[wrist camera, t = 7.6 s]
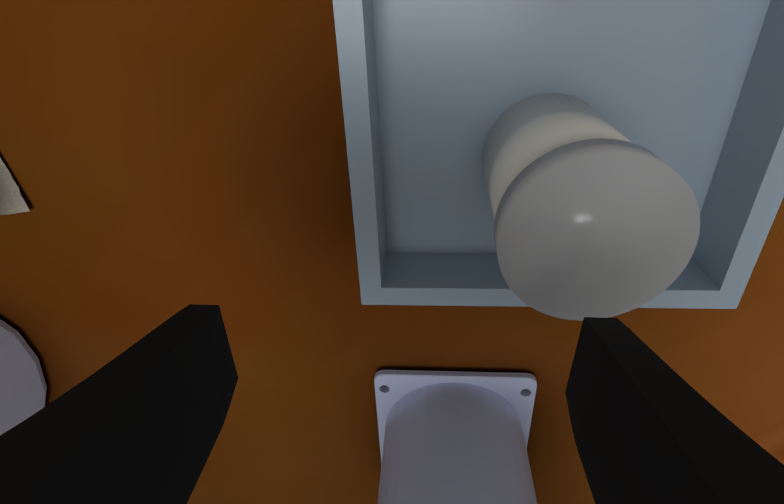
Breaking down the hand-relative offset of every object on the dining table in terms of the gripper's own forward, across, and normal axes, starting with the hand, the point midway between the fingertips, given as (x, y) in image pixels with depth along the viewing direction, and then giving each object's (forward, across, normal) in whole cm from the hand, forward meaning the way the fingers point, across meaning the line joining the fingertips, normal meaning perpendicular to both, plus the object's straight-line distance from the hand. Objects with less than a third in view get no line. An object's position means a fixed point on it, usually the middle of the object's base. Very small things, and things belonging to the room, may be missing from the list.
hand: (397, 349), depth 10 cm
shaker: (+10, -5, -1) cm, 11 cm away
